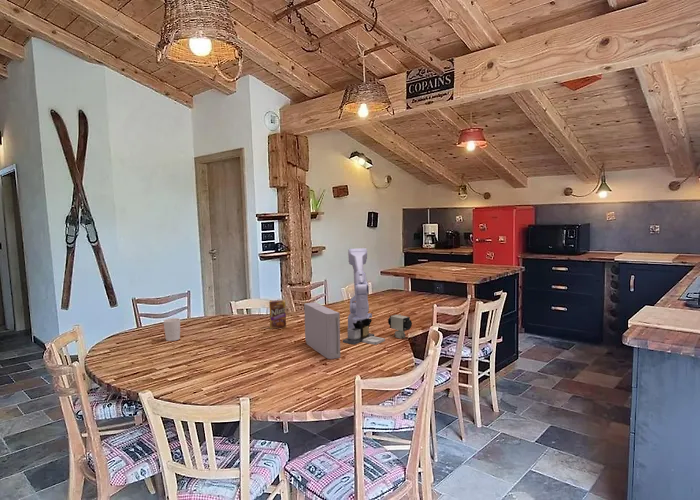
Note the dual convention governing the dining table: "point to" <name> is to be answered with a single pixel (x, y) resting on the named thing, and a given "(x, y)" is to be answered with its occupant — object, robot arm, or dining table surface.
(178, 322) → the white cup
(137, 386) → the dining table surface
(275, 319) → the candy box
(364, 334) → the tan rectangular block
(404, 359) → the dining table surface
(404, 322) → the pneumatic valve
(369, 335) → the rail
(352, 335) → the grey rectangular block
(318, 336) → the game console
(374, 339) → the tray
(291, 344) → the dining table surface
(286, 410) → the dining table surface
